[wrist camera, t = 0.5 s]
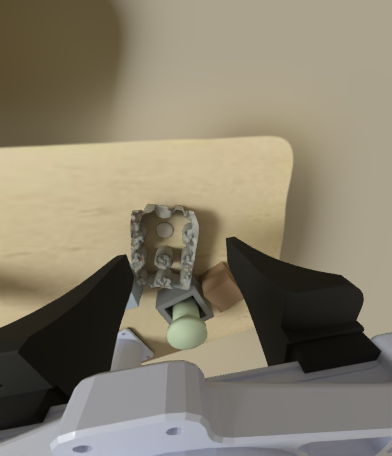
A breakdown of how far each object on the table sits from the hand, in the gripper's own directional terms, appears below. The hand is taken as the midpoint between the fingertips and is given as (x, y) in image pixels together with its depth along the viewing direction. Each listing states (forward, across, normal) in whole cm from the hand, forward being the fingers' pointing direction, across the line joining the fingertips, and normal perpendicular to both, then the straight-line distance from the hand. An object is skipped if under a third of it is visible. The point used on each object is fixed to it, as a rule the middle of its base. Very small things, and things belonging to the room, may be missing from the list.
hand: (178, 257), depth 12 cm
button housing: (+9, +2, +13) cm, 16 cm away
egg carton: (+10, +2, +4) cm, 11 cm away
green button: (+7, +1, +13) cm, 15 cm away
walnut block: (+10, -4, +11) cm, 15 cm away
